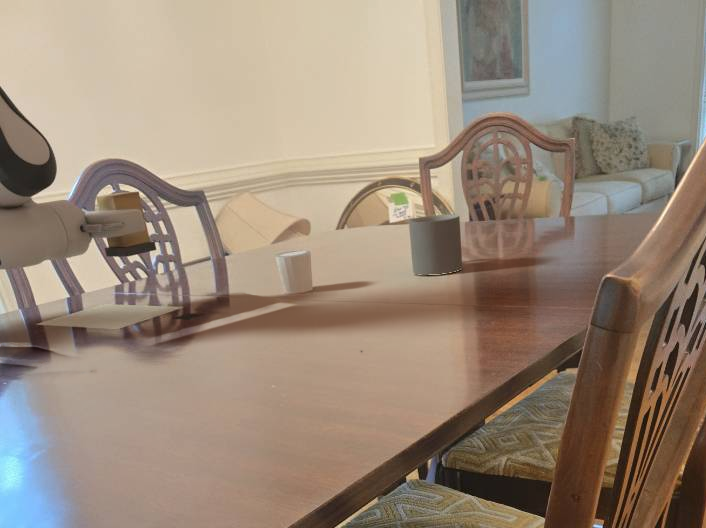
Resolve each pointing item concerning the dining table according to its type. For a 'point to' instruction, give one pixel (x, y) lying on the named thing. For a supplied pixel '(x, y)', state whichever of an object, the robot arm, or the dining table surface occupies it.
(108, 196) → the eraser
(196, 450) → the dining table surface
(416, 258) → the coffee mug
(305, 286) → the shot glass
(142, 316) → the note board
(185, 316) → the smudge
